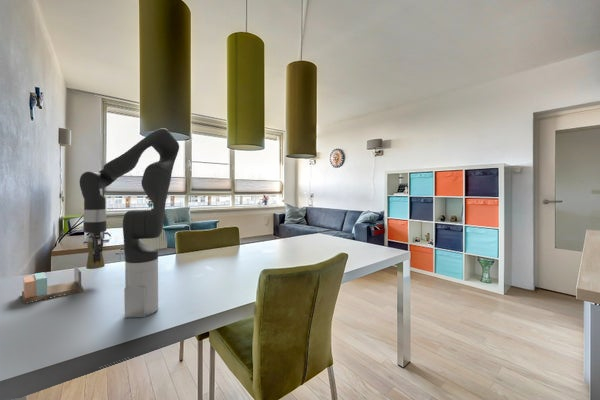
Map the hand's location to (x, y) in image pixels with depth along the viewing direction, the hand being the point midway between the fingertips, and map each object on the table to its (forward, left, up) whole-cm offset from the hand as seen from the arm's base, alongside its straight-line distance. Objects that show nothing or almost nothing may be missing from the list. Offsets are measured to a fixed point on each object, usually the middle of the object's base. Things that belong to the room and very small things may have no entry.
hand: (95, 261), depth 109 cm
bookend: (-4, +4, -8) cm, 10 cm away
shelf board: (-9, +9, -10) cm, 16 cm away
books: (-12, +13, -8) cm, 20 cm away
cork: (0, 0, -3) cm, 3 cm away
